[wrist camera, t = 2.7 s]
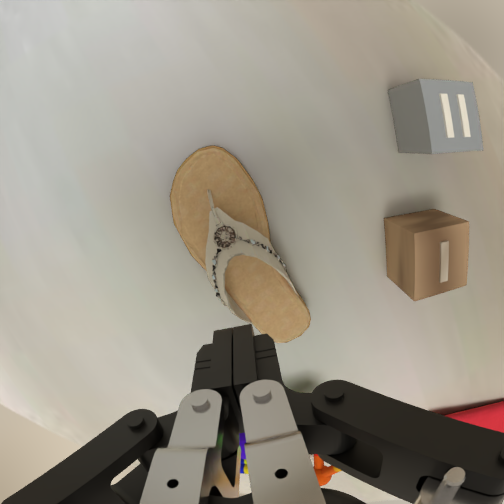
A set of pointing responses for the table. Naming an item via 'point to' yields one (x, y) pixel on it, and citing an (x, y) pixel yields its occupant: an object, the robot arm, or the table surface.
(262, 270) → the sandal
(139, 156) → the table surface
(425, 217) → the walnut block
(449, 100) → the slate block
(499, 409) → the dish drying mat
